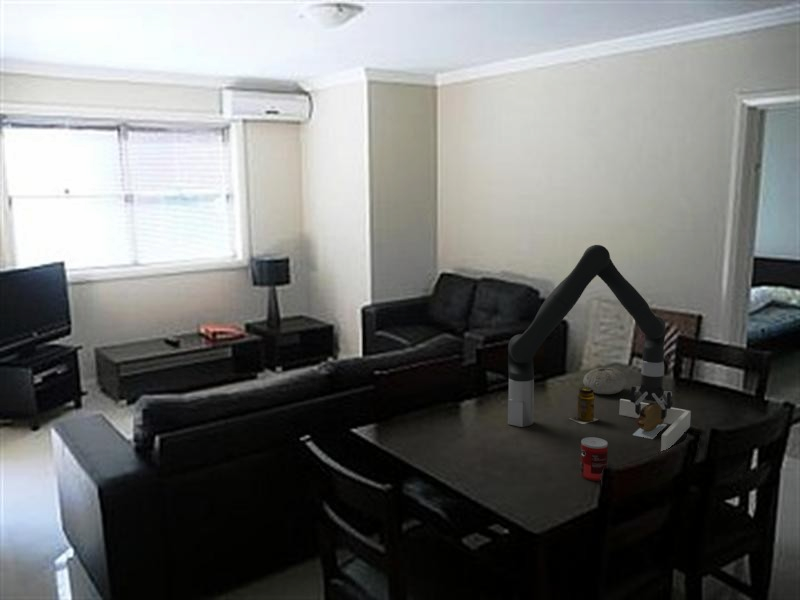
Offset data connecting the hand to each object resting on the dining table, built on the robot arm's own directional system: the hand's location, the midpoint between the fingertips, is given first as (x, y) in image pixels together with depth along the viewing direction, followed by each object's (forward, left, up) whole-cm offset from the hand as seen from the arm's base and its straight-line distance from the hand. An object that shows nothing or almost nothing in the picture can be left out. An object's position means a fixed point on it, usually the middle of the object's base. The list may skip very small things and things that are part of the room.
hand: (650, 416), depth 247 cm
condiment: (-2, +24, -5) cm, 25 cm away
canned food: (-48, +2, -5) cm, 49 cm away
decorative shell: (+36, +30, -5) cm, 47 cm away
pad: (0, 0, -5) cm, 5 cm away
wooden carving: (0, 0, -5) cm, 5 cm away
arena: (-4, +2, -5) cm, 7 cm away
